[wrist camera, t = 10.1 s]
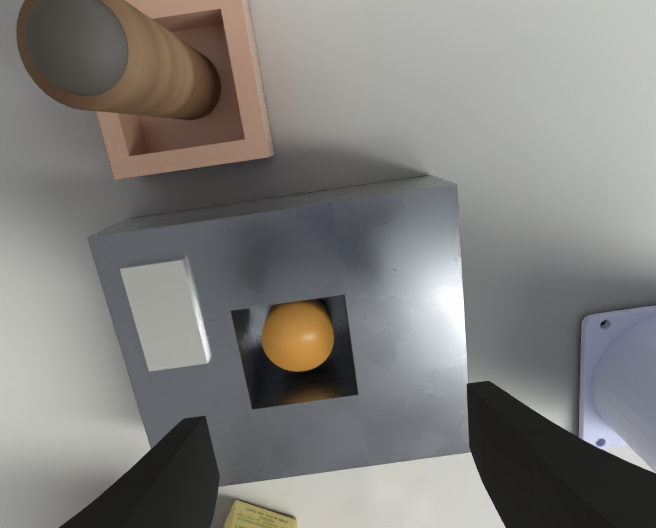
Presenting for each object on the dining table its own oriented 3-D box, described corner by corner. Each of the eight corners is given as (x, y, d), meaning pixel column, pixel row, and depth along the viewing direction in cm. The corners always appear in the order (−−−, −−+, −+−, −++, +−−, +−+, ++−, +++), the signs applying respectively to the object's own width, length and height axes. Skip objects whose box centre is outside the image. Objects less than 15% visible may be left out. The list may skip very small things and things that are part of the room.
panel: (430, 174, 20) (459, 185, 16) (446, 400, 24) (474, 456, 20) (129, 218, 21) (83, 239, 17) (188, 436, 24) (162, 499, 20)
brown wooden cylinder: (217, 47, 18) (111, -44, 9) (224, 118, 19) (134, 105, 10) (149, 50, 18) (-31, -39, 9) (159, 121, 19) (3, 110, 10)
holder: (248, 0, 18) (238, -20, 16) (274, 154, 20) (268, 157, 18) (99, 22, 18) (67, 5, 16) (138, 174, 20) (114, 179, 18)
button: (327, 289, 21) (328, 300, 19) (336, 351, 22) (338, 366, 20) (259, 299, 21) (255, 311, 19) (271, 361, 22) (268, 376, 20)
